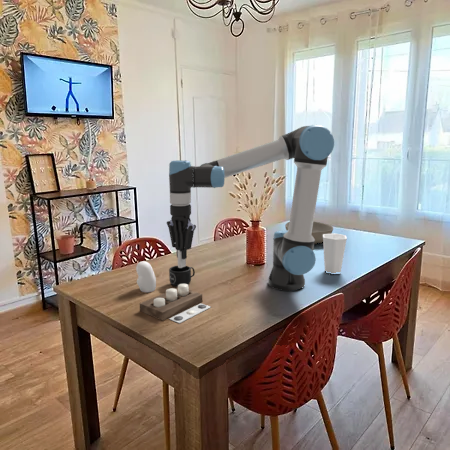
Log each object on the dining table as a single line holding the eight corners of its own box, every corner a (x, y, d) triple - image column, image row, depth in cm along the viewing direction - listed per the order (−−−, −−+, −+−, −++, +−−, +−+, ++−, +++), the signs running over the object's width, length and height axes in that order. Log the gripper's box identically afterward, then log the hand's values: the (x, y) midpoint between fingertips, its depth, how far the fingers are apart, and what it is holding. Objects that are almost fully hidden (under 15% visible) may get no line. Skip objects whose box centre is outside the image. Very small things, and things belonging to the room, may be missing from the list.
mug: (177, 290, 159) (177, 273, 157) (165, 284, 166) (164, 268, 164) (201, 283, 167) (200, 267, 165) (188, 277, 173) (188, 262, 172)
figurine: (138, 286, 163) (137, 259, 160) (157, 286, 164) (155, 258, 161) (136, 293, 156) (134, 264, 153) (155, 292, 157) (154, 264, 154)
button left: (167, 310, 139) (167, 299, 138) (159, 313, 136) (158, 303, 135) (160, 307, 142) (159, 296, 141) (151, 310, 139) (151, 300, 138)
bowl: (280, 236, 244) (280, 220, 242) (322, 235, 247) (323, 219, 245) (292, 248, 217) (292, 231, 215) (339, 246, 220) (340, 229, 218)
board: (202, 301, 148) (202, 294, 147) (162, 320, 132) (162, 312, 132) (179, 293, 155) (179, 286, 154) (139, 311, 140) (139, 303, 139)
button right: (190, 295, 148) (190, 285, 147) (183, 298, 145) (183, 288, 144) (183, 292, 151) (183, 282, 150) (175, 295, 148) (175, 285, 147)
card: (211, 307, 142) (210, 306, 142) (179, 323, 130) (179, 322, 130) (200, 304, 146) (200, 302, 145) (169, 319, 133) (169, 318, 133)
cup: (349, 272, 179) (351, 236, 175) (338, 278, 171) (340, 240, 168) (326, 267, 186) (328, 232, 182) (315, 272, 179) (317, 236, 175)
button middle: (179, 300, 144) (179, 290, 143) (171, 303, 140) (171, 293, 140) (172, 297, 146) (171, 287, 145) (164, 301, 143) (163, 290, 142)
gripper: (201, 204, 139) (201, 267, 144) (175, 201, 147) (176, 261, 152) (186, 207, 133) (187, 273, 138) (160, 203, 141) (162, 265, 146)
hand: (181, 266), depth 145 cm, fingers closed
